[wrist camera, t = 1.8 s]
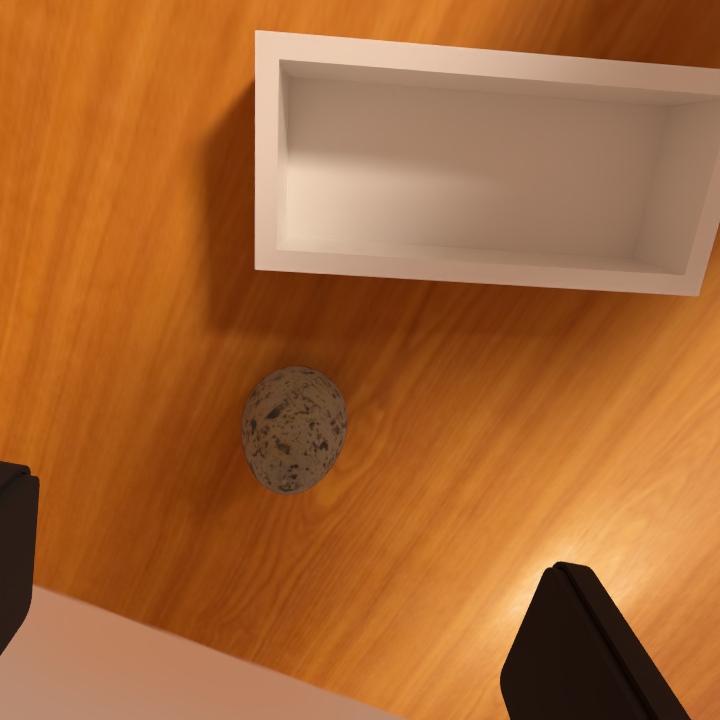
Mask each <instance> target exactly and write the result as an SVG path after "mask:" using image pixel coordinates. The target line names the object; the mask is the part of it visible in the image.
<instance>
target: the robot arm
mask: <svg viewBox="0 0 720 720" xmlns="http://www.w3.org/2000/svg"><path fill="white" fill-rule="evenodd" d="M39 486H40V484H39V478H38V477H37V476H31V471H30V469H29V467H28V466H25V465H20V464H14V463H8V462H3V461H0V655H1V654H2V652H3V651H4V650H5V648H6V647H7V645H8V644H9V642H10V641H11V639H12V638H13V636H14V635H15V633H16V632H17V630H18V629H19V628H20V626H21V625H22V623H23V621H24V620H25V618H26V616H27V613H28V611H29V608H30V604H31V599H32V585H33V571H34V556H35V542H36V528H37V514H38V500H39ZM500 687H501V692H502V695H503V698H504V701H505V704H506V708H507V711H508V714H509V717H510V720H691V719H690V717H689V716H688V714H687V713H686V711H685V710H684V708H683V707H682V705H681V704H680V702H679V701H678V699H677V697H676V696H675V694H674V693H673V691H672V690H671V688H670V687H669V685H668V684H667V682H666V681H665V679H664V678H663V676H662V675H661V673H660V672H659V670H658V669H657V667H656V666H655V664H654V663H653V661H652V660H651V658H650V657H649V655H648V653H647V652H646V650H645V649H644V647H643V646H642V644H641V643H640V641H639V640H638V638H637V637H636V635H635V634H634V632H633V631H632V629H631V628H630V626H629V625H628V623H627V622H626V620H625V619H624V617H623V616H622V614H621V613H620V611H619V609H618V608H617V606H616V605H615V603H614V602H613V600H612V599H611V597H610V596H609V594H608V593H607V591H606V590H605V588H604V587H603V585H602V584H601V582H600V581H599V579H598V578H597V576H596V575H595V573H594V572H593V570H592V569H591V568H590V567H588V566H584V565H579V564H573V563H567V562H562V561H560V562H556V563H555V564H554V565H553V567H552V568H551V567H549V568H547V569H546V570H545V571H544V573H543V575H542V577H541V580H540V582H539V584H538V587H537V589H536V591H535V594H534V596H533V598H532V601H531V603H530V605H529V608H528V610H527V612H526V615H525V617H524V619H523V621H522V624H521V626H520V628H519V631H518V633H517V635H516V638H515V640H514V642H513V645H512V647H511V649H510V652H509V654H508V656H507V659H506V661H505V663H504V666H503V668H502V671H501V676H500Z"/></svg>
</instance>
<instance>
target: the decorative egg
mask: <svg viewBox="0 0 720 720" xmlns="http://www.w3.org/2000/svg"><path fill="white" fill-rule="evenodd" d="M346 432H347V410H346V405H345V402H344V399H343V396H342V394H341V392H340V391H339V389H338V388H337V386H336V385H335V384H334V382H333V381H332V380H331V379H330V378H328V377H327V376H326V375H324V374H323V373H321V372H319V371H317V370H315V369H312V368H309V367H304V366H289V367H285V368H281V369H278V370H276V371H274V372H272V373H270V374H269V375H267V376H266V377H264V378H263V379H262V380H261V381H260V382H259V383H258V384H257V385H256V386H255V388H254V389H253V390H252V392H251V394H250V395H249V398H248V400H247V402H246V405H245V408H244V411H243V416H242V424H241V434H242V443H243V449H244V452H245V456H246V459H247V462H248V464H249V466H250V468H251V470H252V472H253V474H254V475H255V477H256V478H257V479H258V481H259V482H260V483H261V484H262V485H263V486H265V487H266V488H267V489H269V490H271V491H273V492H275V493H278V494H283V495H292V494H297V493H301V492H304V491H306V490H308V489H310V488H311V487H313V486H314V485H316V484H317V483H318V482H319V481H320V480H321V479H322V478H323V477H324V476H325V475H326V474H327V473H328V471H329V470H330V469H331V467H332V466H333V464H334V463H335V461H336V460H337V458H338V456H339V454H340V452H341V449H342V447H343V444H344V441H345V437H346Z"/></svg>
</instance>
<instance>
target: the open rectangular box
mask: <svg viewBox="0 0 720 720" xmlns="http://www.w3.org/2000/svg"><path fill="white" fill-rule="evenodd" d="M719 223H720V69H713V68H701V67H689V66H678V65H666V64H654V63H642V62H630V61H618V60H606V59H594V58H582V57H570V56H558V55H546V54H535V53H523V52H511V51H499V50H487V49H475V48H463V47H451V46H439V45H427V44H415V43H404V42H392V41H380V40H368V39H356V38H344V37H332V36H320V35H308V34H296V33H284V32H272V31H261V30H255V270H268V271H285V272H302V273H318V274H335V275H351V276H368V277H385V278H401V279H418V280H434V281H451V282H467V283H484V284H501V285H517V286H534V287H550V288H567V289H584V290H600V291H617V292H633V293H650V294H667V295H683V296H699V293H700V289H701V286H702V282H703V279H704V275H705V272H706V268H707V265H708V261H709V258H710V254H711V251H712V247H713V244H714V240H715V237H716V233H717V230H718V226H719Z"/></svg>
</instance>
